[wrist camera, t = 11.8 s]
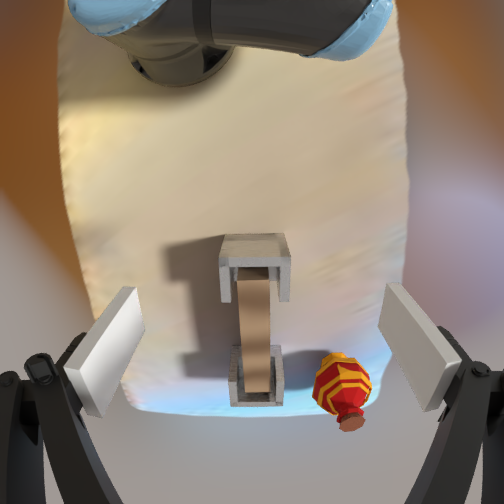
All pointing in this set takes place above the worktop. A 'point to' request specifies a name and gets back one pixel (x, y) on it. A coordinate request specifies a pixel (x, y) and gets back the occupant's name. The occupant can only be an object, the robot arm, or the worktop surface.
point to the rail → (254, 326)
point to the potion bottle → (342, 389)
